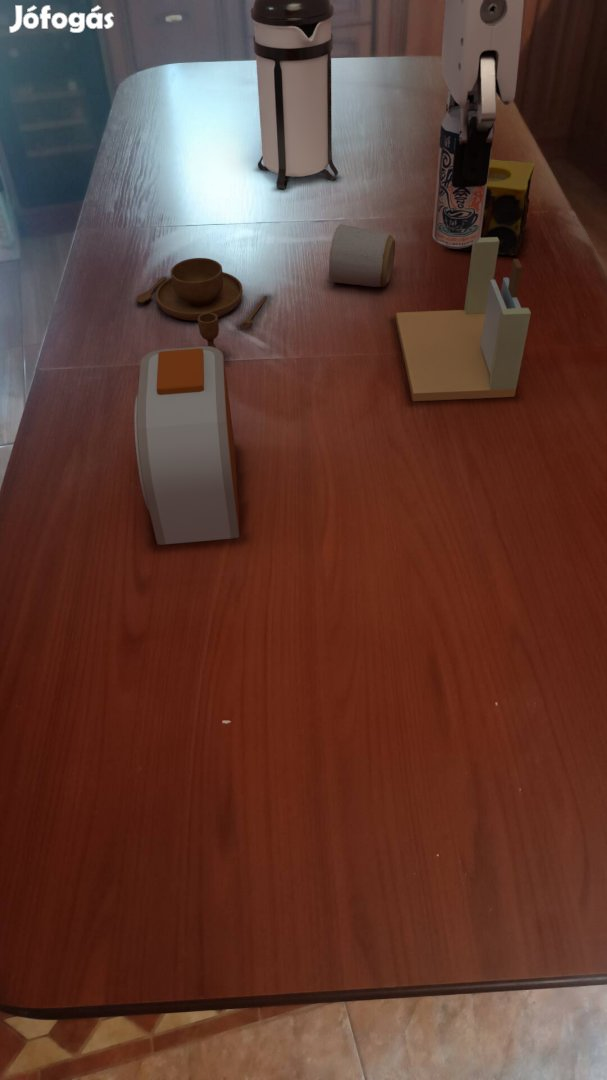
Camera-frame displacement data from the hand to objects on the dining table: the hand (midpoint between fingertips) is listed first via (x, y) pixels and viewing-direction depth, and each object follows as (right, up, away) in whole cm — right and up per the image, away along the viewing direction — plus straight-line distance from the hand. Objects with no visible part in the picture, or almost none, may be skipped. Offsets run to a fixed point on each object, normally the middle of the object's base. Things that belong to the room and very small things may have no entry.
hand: (463, 171), depth 76 cm
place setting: (-30, -5, +33) cm, 45 cm away
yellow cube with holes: (+13, +11, +46) cm, 49 cm away
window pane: (+9, -13, +21) cm, 26 cm away
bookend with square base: (+3, -12, +24) cm, 27 cm away
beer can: (0, -5, +5) cm, 7 cm away
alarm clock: (-26, -30, +9) cm, 41 cm away
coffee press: (-17, +30, +66) cm, 75 cm away
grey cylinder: (-7, +3, +39) cm, 40 cm away
